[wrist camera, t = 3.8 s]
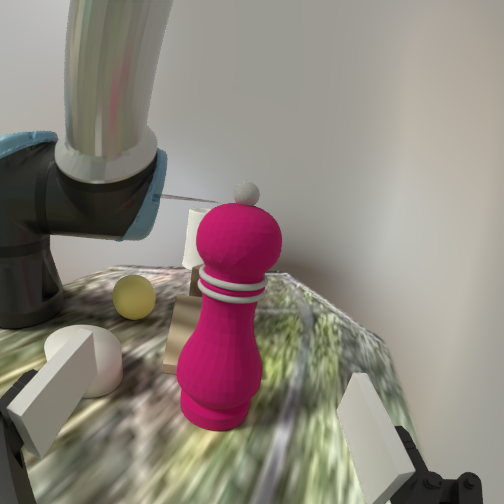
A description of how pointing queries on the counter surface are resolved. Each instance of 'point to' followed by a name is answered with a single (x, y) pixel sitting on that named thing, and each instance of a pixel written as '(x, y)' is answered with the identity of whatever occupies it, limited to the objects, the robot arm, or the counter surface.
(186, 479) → the counter surface
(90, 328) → the white rounded piece
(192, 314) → the serving board
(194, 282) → the walnut block
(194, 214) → the mug
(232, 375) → the pepper mill
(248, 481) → the counter surface
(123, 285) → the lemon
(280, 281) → the counter surface
